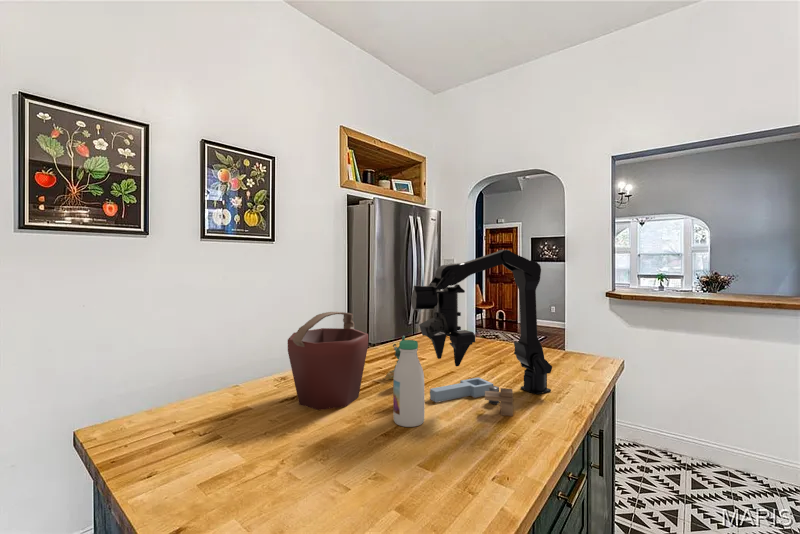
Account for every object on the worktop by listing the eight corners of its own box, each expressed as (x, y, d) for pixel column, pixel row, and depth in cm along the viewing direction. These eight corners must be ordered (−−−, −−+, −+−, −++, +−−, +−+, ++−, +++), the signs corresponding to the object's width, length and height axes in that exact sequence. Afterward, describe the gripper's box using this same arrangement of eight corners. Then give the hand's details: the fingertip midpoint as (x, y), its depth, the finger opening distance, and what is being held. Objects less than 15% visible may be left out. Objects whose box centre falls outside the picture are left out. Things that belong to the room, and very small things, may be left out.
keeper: (485, 408, 103) (485, 386, 103) (512, 410, 102) (512, 388, 102) (484, 414, 99) (484, 391, 99) (512, 416, 98) (513, 393, 98)
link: (478, 386, 121) (478, 377, 121) (493, 393, 115) (493, 383, 114) (426, 396, 112) (426, 386, 112) (439, 404, 106) (439, 394, 106)
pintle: (494, 399, 109) (494, 385, 109) (501, 403, 107) (501, 388, 107) (486, 401, 108) (486, 386, 108) (493, 405, 106) (493, 389, 106)
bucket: (342, 380, 128) (341, 305, 127) (387, 397, 112) (386, 312, 111) (272, 400, 110) (271, 313, 110) (314, 423, 95) (313, 322, 94)
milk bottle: (428, 417, 98) (427, 339, 97) (419, 429, 91) (419, 345, 90) (399, 413, 100) (399, 337, 100) (389, 425, 93) (388, 343, 93)
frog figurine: (433, 373, 136) (429, 332, 135) (393, 389, 125) (389, 345, 124) (415, 366, 144) (412, 328, 142) (376, 381, 133) (372, 340, 131)
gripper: (407, 306, 115) (408, 358, 116) (441, 314, 99) (442, 374, 99) (439, 304, 120) (439, 354, 121) (476, 311, 104) (476, 369, 104)
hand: (447, 362), depth 111 cm, fingers open, 9 cm apart
